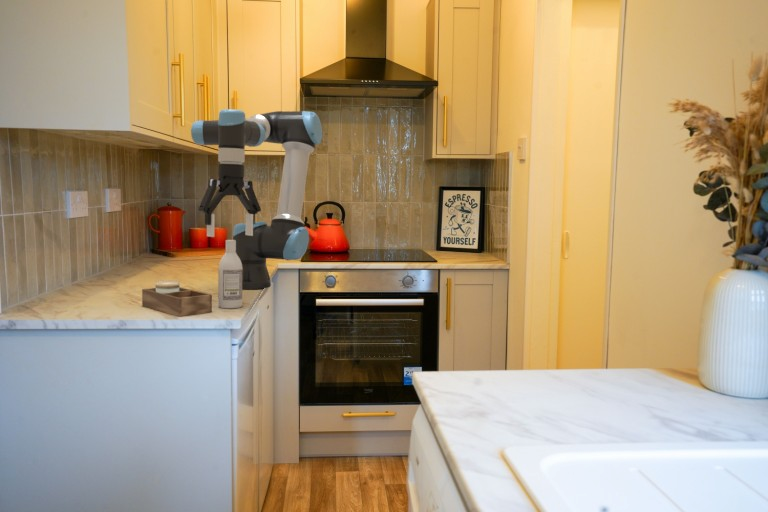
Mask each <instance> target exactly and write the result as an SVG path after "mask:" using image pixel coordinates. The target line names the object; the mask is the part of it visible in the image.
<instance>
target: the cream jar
mask: <svg viewBox="0 0 768 512" xmlns="http://www.w3.org/2000/svg"><path fill="white" fill-rule="evenodd" d="M154 285H155V286H154V288H156V292H158V293H169V292H178V291H179V287H180V286H181V283H180V281H178V280H159V281H155V283H154Z"/></svg>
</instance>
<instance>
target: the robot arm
mask: <svg viewBox="0 0 768 512" xmlns="http://www.w3.org/2000/svg"><path fill="white" fill-rule="evenodd" d="M190 135H191V139H192V141H193V142H194V143H195V144H196V145H199V146H200V145H201V146H217V147H218V149H217V150H218V156H217V158H218V159H217V161H218V162H219V164H218V166H217V175H218V180H217V179H215V178H213V179H211V178H210V179H209V180H208V184H207V185H208V186H207V189H206V190H205V193H204V196H203V198H202V199H201V202H200V204H199V206H198V211H199V212H201V213H202V214H204V224H205V226H206V237H209V238H210V237H211V238H215V221H216V220H215V213H213V212H214V211H215V210H216V209H217V207H218V205H219V204H220V203H221V202H222V200H223V199H224V197H226V196H234V197H235V196H236V197H237V199H239V201H240V202H241V204H242V205H243V207H244V209H245V210H246V212H247V213H245V222H244V223H237V224H235V225H234V226H233V232H232V233H233V234H232V240H236V254H237V255H238V257H239V258H240V260H241V263H242V290H261V289H262V290H263V289H267V288H270V287H271V284H272V283H271V281H272V280H271V277H270V273H269V270H268V267H267V259H272V260H273V259H275V260H285V261H297V260H300V259H302V257H303V256H304V255H305V254H306V251H307V249H308V247H309V242H310V236H309V235H310V232H309V230H308V229H307V228H306V227H305V222H304V221H303V220H302V213H303V207H304V206H303V205H304V200H305V199H304V197H305V193H306V192H305V190H306V183H307V175H308V170H309V169H308V167H309V161H310V160H309V159H310V155H311V154H313V152H314V151H315V146H317V145H320V144H321V143H322V140H323V128H322V123H321V119H320V117H319V116H318V114H317V113H316V112H314V111H307V110H301V111H297V110H296V111H295V110H293V111H291V110H288V111H287V110H286V111H282V110H280V111H279V110H278V111H270V112H269V111H268V112H265V113H259V114H253V115H251V116H249V117H246V113H245V111H243V110H241V109H235V108H234V109H233V108H232V109H230V108H228V109H227V108H226V109H225V108H224V109H221V110H220V111H219V112H218V119H217V120H216V119H214V120H212V119H211V120H205V119H203V120H196V121H194V122H193V123H192V125H191V129H190ZM262 143H269V144H270V143H272V144H278V145H279V144H280V145H281V146H282V148H283V150H284V151H285V153H284V162H283V167H282V168H283V169H282V173H281V174H282V175H281V181H280V188H279V189H280V190H279V195H278V197H279V198H278V203H277V211H276V215H275V216H274V217H272V219H271V222H270V225H268V223H267V221H266V220H265V221H256V215H257V214H258V213H259V212H261V209H262V208H261V206H260V203H259V201H258V199H257V195H256V193H255V190H254V187H253V185H254V184H253V181H252V180H245V181H244V177H245V165H244V163H245V159H246V158H245V154H246V153H245V147H249V148H250V147H251V148H254V147H260V146H261V145H262ZM217 187H219V188H218V190H217ZM243 188H244V189H243ZM216 190H217V191H216ZM214 194H215V195H214Z"/></svg>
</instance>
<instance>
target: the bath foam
mask: <svg viewBox="0 0 768 512" xmlns="http://www.w3.org/2000/svg"><path fill="white" fill-rule="evenodd" d="M217 273H218V279H217V281H218V289H217V290H218V292H217V293H218V294H217V300H218V301H217V302H218V304H217V305H218V308H221V309H229V310H230V309H231V310H232V309H238V308H241V307H242V306H243V289H242V263H241V260H240V258H239V257H238V255H237V254H236V240H233V239H226V240H225V253H224V254H223V255H222V257H221V258H220V261H219V263H218V271H217Z"/></svg>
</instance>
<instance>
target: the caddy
mask: <svg viewBox="0 0 768 512" xmlns="http://www.w3.org/2000/svg"><path fill="white" fill-rule="evenodd" d="M141 299H142V300H141V301H142V303H141V306H142V307H145V308H149V309H150V310H151V309H152V310H155V311H158V312H161V313H166V314H169V315H173V316H175V317H186V316H192V315H201V314H207V313H212V312H213V295H212V294H211V293H207V292H206V293H205V292H202V291H197V290H193V289H188V288H185V287H179V291H178V292H169V293H158V292H156V287H152V288H149V287H148V288H142V290H141Z"/></svg>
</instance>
